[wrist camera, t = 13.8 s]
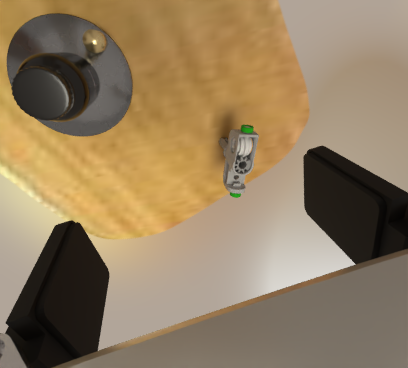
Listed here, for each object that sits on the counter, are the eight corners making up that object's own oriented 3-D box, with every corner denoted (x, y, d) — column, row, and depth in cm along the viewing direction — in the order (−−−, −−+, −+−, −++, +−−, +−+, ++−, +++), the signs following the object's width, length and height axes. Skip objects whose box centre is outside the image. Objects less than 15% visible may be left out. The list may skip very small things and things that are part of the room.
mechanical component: (211, 168, 45) (227, 198, 36) (218, 110, 40) (239, 128, 31) (227, 169, 45) (247, 198, 37) (236, 111, 41) (261, 129, 32)
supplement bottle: (111, 84, 35) (98, 101, 24) (77, 117, 36) (50, 146, 25) (68, 38, 31) (31, 35, 21) (31, 76, 32) (-21, 91, 22)
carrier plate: (-20, 34, 30) (-39, 32, 27) (103, -2, 30) (98, -7, 27) (50, 147, 37) (42, 157, 34) (147, 117, 38) (148, 124, 35)
